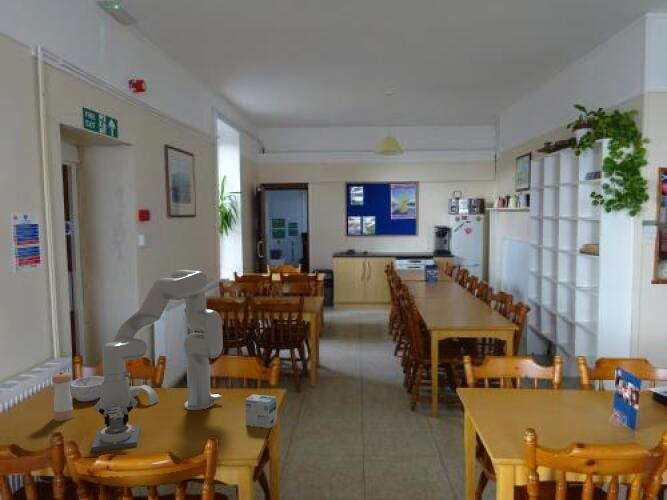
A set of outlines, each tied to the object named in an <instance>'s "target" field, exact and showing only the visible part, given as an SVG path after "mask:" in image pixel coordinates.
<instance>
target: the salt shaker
mask: <svg viewBox="0 0 667 500" xmlns="http://www.w3.org/2000/svg"><path fill="white" fill-rule="evenodd" d="M71 380H72V375H71V374H70V373H69V372H64V371H62V370H61V371H59V373H56V374H54V375H53V376H52V378H51V381H52V383H53V384H54V396H53V397H54V398H53V407H54V408H53V412H52V413H53V415H52V416H53V420H54V421H56V422H57V421H58V422H62V421H68V420H70V419H72V418H73V417H74V407H73V398H72V397H73V396H71V393H70V383H71V382H70V381H71Z"/></svg>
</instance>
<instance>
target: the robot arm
mask: <svg viewBox="0 0 667 500" xmlns="http://www.w3.org/2000/svg"><path fill="white" fill-rule="evenodd" d="M208 284H209V278H208V276H207V274H206V273H205V272H203V271H201V270H190V269H177V270H175V271H172V273H171V276H170V277H160V278H157V279H156V280H155V281H154V282H153V284H152V285H151V288H150V289H149V291H148V293H147V295H146V297H145V299H143V302H142V304H141V306H140V308H139V309H138V310H137V311H136V312H135V313H134V314H132V315H131V316H130V317H129V318H127V319H126V320H125V321H124V322H123V323H122V325H120V326H119V329H118V330H117V333H116V334H115V336H114V338H113V341H111V342H107V343H105V344H103V346H102V348H101V349H102V350H101V352H102V354H101V355H102V356H101V357H102V373H103V376H102V377H103V378H104V380H103V381H102V384H101V394H100V398H99V400H98V401H97V403H96V404H95V405H94V406H93V410H95V411H97V412H98V413H99V414H101V415H102V416H103V418H104V425H106V427H109V419H110V418H111V416H109V415H108V414H109V412H108V410H109V408H112V407H111V405H114V404H115V406H113V407H117V406H121V407H123V410H124V414H123V417H124V425H126V424H128V423H129V421H130V420H129V418H130V417H129V413H130V412H131V411H132V410H133V409H134V408H135V407H136V406H137V405H138V403H139V402H138V401H137V400H136V399H135V397H134V398H133V397H132V396H131V391H130V386H131V384H130V380H129V377H130V376H131V373H130V372H131V371H126V370H127V369H126V361H132V360H133V361H134V360H139V359H142V358H143V357H144V356H146V354H147V352H148V345H147V342H146V341H144V340H142V339H141V338H135V336H136V335H137V333H138V332H139V331H140V330H141V329H142V328H145V327H147V326H148V325H151V324H153V323H155V322H157V321H159V320H161V317H162V315H163V314H164V311H165V310H166V308H167V306H168V305H169V302H170V300H171V301H182V300H184V303H185V304H184V305H185V317H186V318H185V321H186V326H187V328H188V329H190V330H192V331H195V332H192V333H190V334H188V335H187V336H186V337H184V341H183V350H184V354H185V360H186V374H187V375H186V379H187V380H186V381H187V401H186V402H185V403H183V404H184V406H183V407H184V408H185V409H186V410H189V411H203V409H204V410H207V409H206V408H208V409H210V408H212V407H213V406H214V405H215V401H222V395H219V394H212V391H211V371H210V369H211V366H210V360H209V359H216V358H218V357H219V356H220V355H221V353H222V352H223V351H222V350H223V347H224V346H223V345H224V343H223V340H224V339H223V337H224V335H223V321H222V317H221V315H220V314H219V312H218V311H216V310H214V309H210V308H209V309H208V308H207V307H208V306H207V300H206V294H205V291H204V290H205V289H206V288H207V286H208ZM196 331H197V332H196ZM201 332H202V333H201ZM211 406H212V407H211ZM121 407H120V408H121ZM209 407H210V408H209ZM120 408H119V409H120Z"/></svg>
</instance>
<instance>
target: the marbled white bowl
mask: <svg viewBox="0 0 667 500" xmlns="http://www.w3.org/2000/svg"><path fill="white" fill-rule="evenodd" d="M103 380H104V378H103V376H98V375H96V376H95V375H93V376H85V377H79V378H77V379H74V380H72V381H71V382H70V393H71V397H74V398H75V399H76V400H77V401H79V402H92V401H95V400H97V399H100V394H101V384H102V381H103Z"/></svg>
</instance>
